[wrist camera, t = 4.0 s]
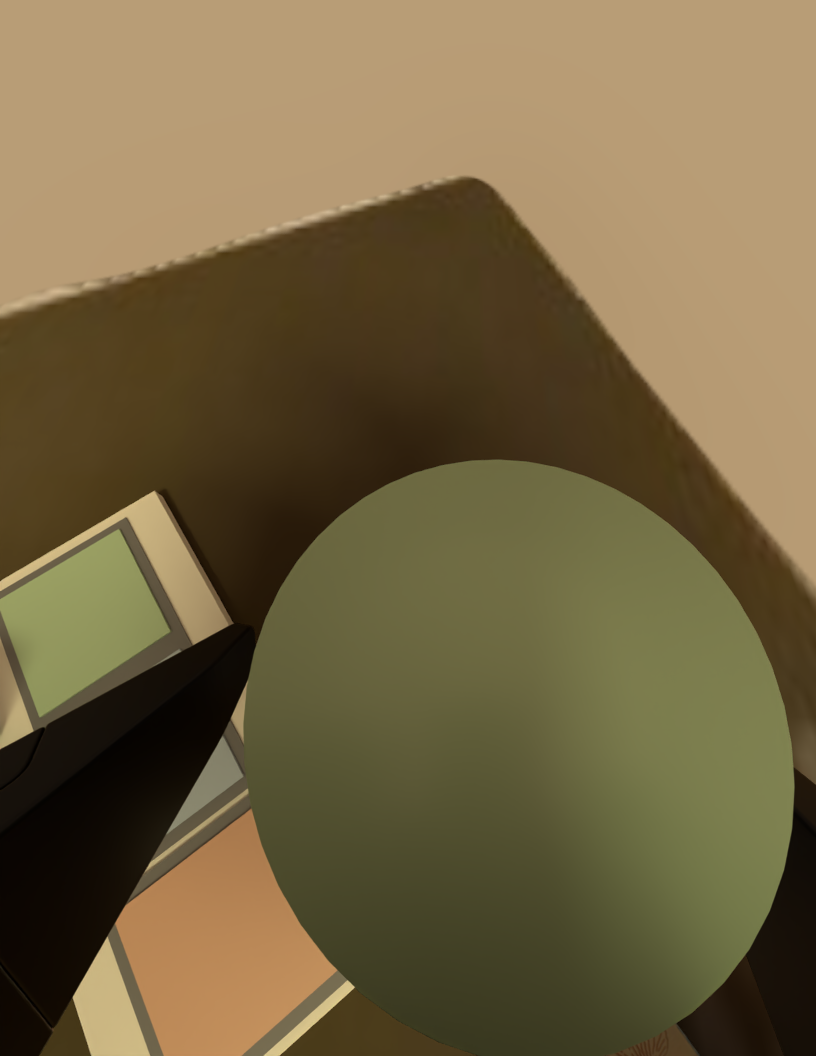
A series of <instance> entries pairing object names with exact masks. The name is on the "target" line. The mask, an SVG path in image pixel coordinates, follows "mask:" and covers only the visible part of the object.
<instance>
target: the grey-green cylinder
mask: <svg viewBox="0 0 816 1056" xmlns="http://www.w3.org/2000/svg"><path fill="white" fill-rule="evenodd" d="M243 733H244V765H245V772H246V778H247V785H248V792H249V799H250V805H251V809H252V812H253V816H254V820H255V823H256V827H257V830H258V834H259V838H260V841H261V845H262V848H263V850H264V852H265V855H266V857H267V860H268V862H269V864H270V867H271V869H272V872H273V874H274V877H275V879H276V881H277V884H278V886H279V888H280V890H281V891H282V893H283V895H284V897H285V898H286V900H287V902H288V904H289V905H290V907H291V909H292V911H293V912H294V914H295V916H296V918H297V919H298V921H299V923H300V925H301V926H302V927H303V929H304V930H305V931H306V932H307V934H308V935H309V936H310V938H311V939H312V940H313V942H314V943H315V944H316V946H317V947H318V948H319V950H320V951H321V952H322V953H323V955H324V956H325V957H326V959H327V960H328V961H329V962H330V963H331V964H332V965H333V966H334V967H335V968H336V969H337V970H338V971H339V972H340V973H341V974H342V975H343V976H344V977H345V978H346V979H347V980H348V981H349V982H350V983H351V984H352V985H353V986H354V987H355V988H356V989H357V990H358V991H359V992H360V993H361V994H362V995H364V996H365V997H366V998H368V999H369V1000H371V1001H372V1002H373V1003H375V1004H376V1005H377V1006H379V1007H380V1008H381V1009H383V1010H384V1011H385V1012H387V1013H388V1014H390V1015H391V1016H392V1017H394V1018H395V1019H396V1020H398V1021H399V1022H401V1023H403V1024H405V1025H407V1026H409V1027H411V1028H413V1029H415V1030H416V1031H418V1032H420V1033H422V1034H424V1035H426V1036H428V1037H430V1038H432V1039H434V1040H436V1041H437V1042H440V1043H443V1044H446V1045H449V1046H452V1047H455V1048H458V1049H461V1050H464V1051H467V1052H470V1053H473V1054H476V1055H479V1056H605V1055H609V1054H614V1053H617V1052H620V1051H622V1050H624V1049H627V1048H629V1047H632V1046H634V1045H636V1044H639V1043H641V1042H644V1041H646V1040H648V1039H651V1038H653V1037H656V1036H657V1035H659V1034H660V1033H662V1032H663V1031H665V1030H666V1029H668V1028H670V1027H671V1026H673V1025H674V1024H676V1023H677V1022H679V1021H680V1020H682V1019H683V1018H685V1017H686V1016H688V1015H690V1014H691V1013H692V1012H694V1011H695V1010H696V1009H697V1008H698V1007H699V1006H700V1005H701V1004H702V1003H703V1002H704V1001H705V1000H706V999H707V998H708V997H710V996H711V995H712V994H713V993H714V992H715V991H716V990H717V989H718V988H719V987H720V986H721V985H722V984H723V983H724V982H725V981H726V979H727V978H728V977H729V976H730V974H731V973H732V972H733V970H734V969H735V968H736V966H737V965H738V964H739V962H740V961H741V960H742V958H743V957H744V956H745V954H746V953H747V952H748V950H749V949H750V947H751V945H752V944H753V942H754V940H755V938H756V936H757V934H758V932H759V930H760V928H761V926H762V925H763V923H764V921H765V919H766V917H767V915H768V913H769V911H770V909H771V906H772V903H773V900H774V897H775V894H776V892H777V889H778V886H779V883H780V880H781V877H782V874H783V871H784V867H785V862H786V857H787V852H788V847H789V842H790V836H791V831H792V821H793V804H794V787H795V786H794V772H793V757H792V744H791V739H790V734H789V729H788V723H787V718H786V713H785V708H784V704H783V701H782V697H781V694H780V691H779V688H778V685H777V681H776V678H775V675H774V672H773V669H772V666H771V664H770V662H769V659H768V657H767V655H766V653H765V650H764V648H763V646H762V644H761V641H760V639H759V637H758V634H757V632H756V631H755V629H754V627H753V625H752V624H751V622H750V620H749V619H748V617H747V615H746V613H745V612H744V610H743V608H742V606H741V605H740V603H739V601H738V600H737V598H736V597H735V596H734V594H733V593H732V592H731V590H730V589H729V587H728V586H727V585H726V583H725V582H724V581H723V579H722V578H721V577H720V575H719V574H718V572H717V571H716V570H715V569H714V568H713V567H712V566H711V565H710V563H709V562H708V561H707V560H706V559H705V558H704V557H703V556H702V555H701V554H700V552H699V551H698V550H697V549H696V548H695V547H694V546H693V545H692V544H691V543H690V542H689V541H688V540H686V539H685V538H684V537H683V536H682V535H681V534H680V533H679V532H677V531H676V530H675V529H674V528H673V527H672V526H671V525H670V524H668V523H667V522H666V521H664V520H663V519H662V518H660V517H659V516H657V515H656V514H655V513H653V512H652V511H650V510H649V509H648V508H646V507H645V506H643V505H642V504H640V503H639V502H637V501H635V500H633V499H632V498H630V497H628V496H626V495H625V494H623V493H621V492H619V491H618V490H616V489H614V488H612V487H609V486H607V485H605V484H603V483H600V482H598V481H596V480H593V479H591V478H589V477H586V476H583V475H580V474H577V473H574V472H570V471H567V470H564V469H561V468H557V467H553V466H547V465H542V464H537V463H532V462H525V461H511V460H476V461H465V462H459V463H453V464H446V465H441V466H437V467H434V468H430V469H427V470H423V471H420V472H416V473H413V474H411V475H408V476H406V477H404V478H401V479H399V480H397V481H394V482H392V483H389V484H387V485H385V486H384V487H382V488H380V489H378V490H377V491H375V492H373V493H371V494H370V495H368V496H366V497H364V498H363V499H361V500H360V501H359V502H357V503H356V504H355V505H353V506H352V507H351V508H349V509H348V510H347V511H345V512H344V513H343V514H341V515H340V516H339V517H338V518H337V519H335V520H334V521H333V522H332V523H331V524H330V525H329V526H328V527H327V528H326V529H325V530H324V531H323V532H322V533H321V534H320V535H319V536H318V537H317V538H316V539H315V540H314V541H313V543H312V544H311V545H310V546H309V547H308V549H307V550H306V551H305V552H304V554H303V555H302V556H301V557H300V558H299V560H298V561H297V562H296V564H295V565H294V567H293V569H292V570H291V572H290V573H289V575H288V576H287V578H286V580H285V581H284V583H283V584H282V586H281V587H280V589H279V591H278V593H277V595H276V598H275V600H274V602H273V604H272V606H271V608H270V610H269V612H268V614H267V616H266V618H265V621H264V624H263V627H262V630H261V633H260V636H259V639H258V642H257V645H256V648H255V651H254V655H253V660H252V664H251V669H250V674H249V678H248V683H247V689H246V700H245V711H244V722H243Z"/></svg>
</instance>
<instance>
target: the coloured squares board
mask: <svg viewBox="0 0 816 1056" xmlns="http://www.w3.org/2000/svg"><path fill="white" fill-rule="evenodd" d="M231 624H234V623H233V622H232V620H231V618H230V616H229V615H228V613H227V611H226V609H225V607H224V606H223V604H222V602H221V600H220V598H219V597H218V595H217V593H216V591H215V589H214V588H213V586H212V584H211V582H210V581H209V579H208V577H207V575H206V573H205V572H204V570H203V568H202V566H201V564H200V563H199V561H198V559H197V557H196V555H195V554H194V552H193V550H192V548H191V546H190V545H189V543H188V541H187V539H186V538H185V536H184V534H183V532H182V530H181V529H180V527H179V525H178V523H177V521H176V520H175V518H174V516H173V514H172V512H171V511H170V509H169V507H168V505H167V504H166V502H165V500H164V498H163V496H161V495H160V494H158V493H157V492H155V491H153V492H152V493H150V494H148V495H147V496H145V497H143V498H141V499H140V500H138V501H136V502H135V503H133V504H131V505H129V506H128V507H126V508H124V509H123V510H121V511H119V512H117V513H116V514H114V515H112V516H111V517H109V518H107V519H106V520H104V521H102V522H100V523H99V524H97V525H95V526H94V527H92V528H90V529H88V530H87V531H85V532H83V533H82V534H80V535H78V536H76V537H75V538H73V539H71V540H70V541H68V542H66V543H65V544H63V545H61V546H59V547H58V548H56V549H54V550H53V551H51V552H49V553H47V554H46V555H44V556H42V557H41V558H39V559H37V560H35V561H34V562H32V563H30V564H29V565H27V566H25V567H24V568H22V569H20V570H18V571H17V572H15V573H13V574H12V575H10V576H8V577H6V578H5V579H3V580H1V581H0V749H1V748H3V747H5V746H7V745H9V744H11V743H13V742H14V741H16V740H18V739H20V738H22V737H24V736H26V735H27V734H29V733H31V732H33V731H35V730H37V729H38V728H40V727H46V725H47V724H48V723H50V722H52V721H54V720H55V719H57V718H59V717H61V716H63V715H65V714H66V713H68V712H70V711H72V710H74V709H76V708H78V707H79V706H81V705H83V704H85V703H87V702H89V701H91V700H92V699H94V698H96V697H98V696H100V695H102V694H103V693H105V692H107V691H109V690H111V689H113V688H115V687H116V686H118V685H120V684H122V683H124V682H126V681H127V680H129V679H131V678H133V677H135V676H137V675H139V674H140V673H142V672H144V671H146V670H148V669H150V668H151V667H153V666H155V665H157V664H159V663H161V662H163V661H164V660H166V659H168V658H170V657H172V656H174V655H175V654H177V653H179V652H181V651H183V650H185V649H187V648H188V647H190V646H192V645H194V644H196V643H198V642H199V641H201V640H203V639H205V638H207V637H209V636H211V635H212V634H214V633H216V632H218V631H220V630H222V629H224V628H225V627H227V626H229V625H231ZM247 683H248V681H247ZM247 683H246V686H245V688H244V690H243V692H242V695H241V697H240V699H239V701H238V704H237V706H236V708H235V710H234V713H233V715H232V717H231V719H230V722H229V724H228V726H227V728H226V730H225V732H224V734H223V736H222V738H221V740H220V741H219V743H218V745H217V747H216V749H215V750H214V752H213V754H212V756H211V757H210V759H209V761H208V763H207V764H206V766H205V768H204V770H203V771H202V773H201V775H200V776H199V778H198V780H197V782H196V783H195V785H194V787H193V789H192V790H191V792H190V794H189V796H188V797H187V799H186V801H185V803H184V804H183V806H182V808H181V810H180V811H179V813H178V815H177V817H176V818H175V820H174V822H173V823H172V825H171V827H170V829H169V830H168V832H167V834H166V836H165V837H164V839H163V841H162V843H161V844H160V846H159V848H158V850H157V851H156V853H155V855H154V857H153V858H152V860H151V862H150V864H149V865H148V867H147V869H146V871H145V872H144V874H143V876H142V877H141V879H140V881H139V883H138V884H137V886H136V888H135V890H134V891H133V893H132V895H131V897H130V898H129V900H128V902H127V904H126V905H125V907H124V909H123V911H122V912H121V914H120V916H119V918H118V919H117V921H116V923H115V924H114V926H113V928H112V930H111V931H110V933H109V935H108V937H107V938H106V940H105V942H104V944H103V945H102V947H101V949H100V951H99V952H98V954H97V956H96V958H95V959H94V961H93V963H92V965H91V966H90V968H89V970H88V972H87V973H86V975H85V977H84V978H83V980H82V982H81V984H80V985H79V987H78V989H77V991H76V992H75V994H74V996H73V1000H74V1003H75V1006H76V1009H77V1012H78V1015H79V1019H80V1022H81V1025H82V1028H83V1031H84V1034H85V1037H86V1040H87V1043H88V1046H89V1050H90V1053H91V1056H280V1055H281V1054H282V1053H283V1052H284V1051H285V1050H286V1049H287V1048H288V1047H290V1046H291V1045H292V1044H293V1043H294V1042H295V1041H296V1040H297V1039H298V1038H299V1037H301V1036H302V1035H303V1034H304V1033H305V1032H306V1031H307V1030H308V1029H309V1028H311V1027H312V1026H313V1025H314V1024H315V1023H316V1022H317V1021H318V1020H319V1019H320V1018H322V1017H323V1016H324V1015H325V1014H326V1013H327V1012H328V1011H329V1010H330V1009H332V1008H333V1007H334V1006H335V1005H336V1004H337V1003H338V1002H339V1001H340V1000H341V999H343V998H344V997H345V996H346V995H347V994H348V993H349V992H350V991H351V990H353V989H354V988H355V987H354V986H353V985H352V984H351V983H350V982H349V981H348V980H347V979H346V978H345V977H344V976H343V975H342V974H341V973H340V972H339V971H338V970H337V969H336V968H335V967H334V966H333V965H332V964H331V963H330V962H329V961H328V960H327V959H326V957H325V956H324V955H323V953H322V952H321V951H320V950H319V948H318V947H317V946H316V944H315V943H314V942H313V940H312V939H311V938H310V936H309V935H308V934H307V932H306V931H305V930H304V929H303V927H302V926H301V925H300V923H299V921H298V919H297V918H296V916H295V914H294V912H293V911H292V909H291V907H290V905H289V904H288V902H287V900H286V898H285V897H284V895H283V893H282V891H281V890H280V888H279V886H278V884H277V881H276V879H275V877H274V874H273V872H272V869H271V867H270V864H269V862H268V860H267V857H266V855H265V852H264V850H263V848H262V845H261V841H260V838H259V834H258V830H257V827H256V823H255V820H254V816H253V812H252V809H251V805H250V799H249V792H248V785H247V778H246V772H245V765H244V733H243V722H244V711H245V700H246V689H247Z"/></svg>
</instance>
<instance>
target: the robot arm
mask: <svg viewBox="0 0 816 1056" xmlns="http://www.w3.org/2000/svg"><path fill="white" fill-rule="evenodd" d="M255 648H256V643H255V632H254V629H253V627H252V626H250V625H244V624H238V623H234V624H231V625H229V626H227V627H225V628H224V629H222V630H220V631H218V632H216V633H214V634H212V635H211V636H209V637H207V638H205V639H203V640H201V641H199V642H198V643H196V644H194V645H192V646H190V647H188V648H187V649H185V650H183V651H181V652H179V653H177V654H175V655H174V656H172V657H170V658H168V659H166V660H164V661H163V662H161V663H159V664H157V665H155V666H153V667H151V668H150V669H148V670H146V671H144V672H142V673H140V674H139V675H137V676H135V677H133V678H131V679H129V680H127V681H126V682H124V683H122V684H120V685H118V686H116V687H115V688H113V689H111V690H109V691H107V692H105V693H103V694H102V695H100V696H98V697H96V698H94V699H92V700H91V701H89V702H87V703H85V704H83V705H81V706H79V707H78V708H76V709H74V710H72V711H70V712H68V713H66V714H65V715H63V716H61V717H59V718H57V719H55V720H54V721H52V722H50V723H48V724H47V725H46V727H40V728H38V729H37V730H35V731H33V732H31V733H29V734H27V735H26V736H24V737H22V738H20V739H18V740H16V741H14V742H13V743H11V744H9V745H7V746H5V747H3V748H1V749H0V1056H40V1054H41V1052H42V1051H43V1049H44V1047H45V1045H46V1044H47V1042H48V1040H49V1038H50V1037H51V1035H52V1033H53V1028H54V1027H55V1026H56V1025H57V1024H58V1022H59V1020H60V1019H61V1017H62V1015H63V1013H64V1012H65V1010H66V1008H67V1006H68V1005H69V1003H70V1001H71V999H72V998H73V996H74V994H75V992H76V991H77V989H78V987H79V985H80V984H81V982H82V980H83V978H84V977H85V975H86V973H87V972H88V970H89V968H90V966H91V965H92V963H93V961H94V959H95V958H96V956H97V954H98V952H99V951H100V949H101V947H102V945H103V944H104V942H105V940H106V938H107V937H108V935H109V933H110V931H111V930H112V928H113V926H114V924H115V923H116V921H117V919H118V918H119V916H120V914H121V912H122V911H123V909H124V907H125V905H126V904H127V902H128V900H129V898H130V897H131V895H132V893H133V891H134V890H135V888H136V886H137V884H138V883H139V881H140V879H141V877H142V876H143V874H144V872H145V871H146V869H147V867H148V865H149V864H150V862H151V860H152V858H153V857H154V855H155V853H156V851H157V850H158V848H159V846H160V844H161V843H162V841H163V839H164V837H165V836H166V834H167V832H168V830H169V829H170V827H171V825H172V823H173V822H174V820H175V818H176V817H177V815H178V813H179V811H180V810H181V808H182V806H183V804H184V803H185V801H186V799H187V797H188V796H189V794H190V792H191V790H192V789H193V787H194V785H195V783H196V782H197V780H198V778H199V776H200V775H201V773H202V771H203V770H204V768H205V766H206V764H207V763H208V761H209V759H210V757H211V756H212V754H213V752H214V750H215V749H216V747H217V745H218V743H219V741H220V740H221V738H222V736H223V734H224V732H225V730H226V728H227V726H228V724H229V722H230V719H231V717H232V715H233V713H234V710H235V708H236V706H237V704H238V701H239V699H240V697H241V695H242V692H243V690H244V688H245V686H246V683H247V681H248V678H249V674H250V669H251V664H252V660H253V655H254V651H255ZM793 772H794V786H795V787H794V804H793V821H792V831H791V836H790V842H789V847H788V852H787V857H786V862H785V867H784V871H783V874H782V877H781V880H780V883H779V886H778V889H777V892H776V894H775V897H774V900H773V903H772V906H771V909H770V911H769V913H768V915H767V917H766V919H765V921H764V923H763V925H762V926H761V928H760V930H759V932H758V934H757V936H756V938H755V940H754V942H753V944H752V945H751V947H750V949H749V950H748V952H747V953H746V956H747V958H748V961H749V964H750V966H751V969H752V972H753V974H754V977H755V980H756V982H757V985H758V988H759V990H760V993H761V996H762V998H763V1001H764V1004H765V1006H766V1009H767V1012H768V1014H769V1017H770V1020H771V1022H772V1025H773V1028H774V1030H775V1033H776V1036H777V1038H778V1041H779V1044H780V1046H781V1049H782V1052H783V1054H784V1056H816V784H814V783H813V782H812V781H811V780H809V779H808V778H807V777H805V776H804V775H803V774H802V773H800V772H799V771H798V770H797V769H795V768H794V767H793Z"/></svg>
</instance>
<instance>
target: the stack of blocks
mask: <svg viewBox="0 0 816 1056" xmlns="http://www.w3.org/2000/svg"><path fill="white" fill-rule="evenodd" d="M605 1056H700V1055H699V1053H698V1052H697V1051H696V1049H695V1048H694V1047H693V1045H692V1044H691V1043H690V1041H689V1040H688V1038H687V1037H686V1036H685V1034H684V1033H683V1031H682V1030H681V1029H680V1027H679V1026H678V1025H677V1024H674V1025H673V1026H671V1027H670V1028H668V1029H666V1030H665V1031H663V1032H662V1033H660V1034H659V1035H657V1036H656V1037H653V1038H651V1039H648V1040H646V1041H644V1042H641V1043H639V1044H636V1045H634V1046H632V1047H629V1048H627V1049H624V1050H622V1051H620V1052H617V1053H614V1054H609V1055H605Z"/></svg>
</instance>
